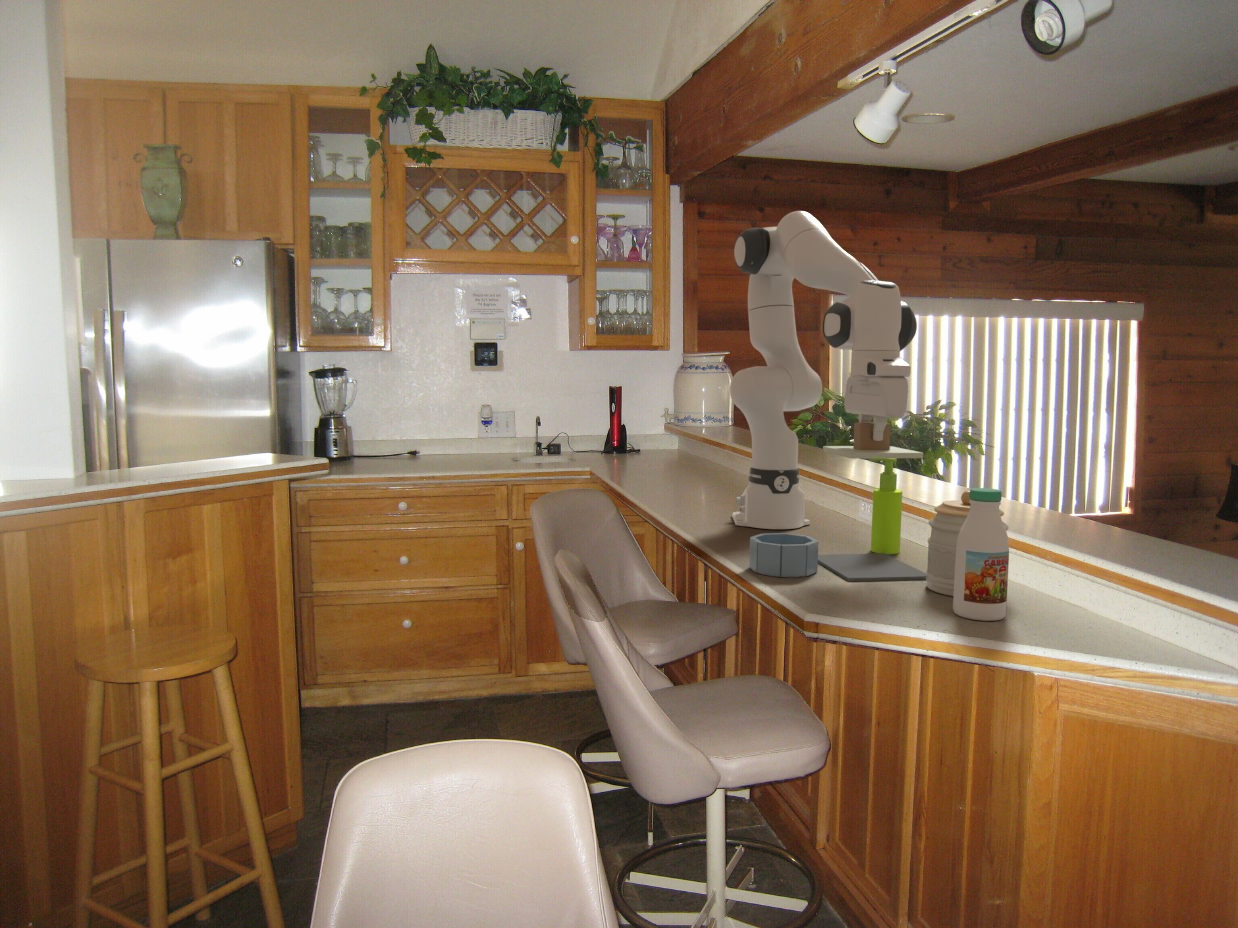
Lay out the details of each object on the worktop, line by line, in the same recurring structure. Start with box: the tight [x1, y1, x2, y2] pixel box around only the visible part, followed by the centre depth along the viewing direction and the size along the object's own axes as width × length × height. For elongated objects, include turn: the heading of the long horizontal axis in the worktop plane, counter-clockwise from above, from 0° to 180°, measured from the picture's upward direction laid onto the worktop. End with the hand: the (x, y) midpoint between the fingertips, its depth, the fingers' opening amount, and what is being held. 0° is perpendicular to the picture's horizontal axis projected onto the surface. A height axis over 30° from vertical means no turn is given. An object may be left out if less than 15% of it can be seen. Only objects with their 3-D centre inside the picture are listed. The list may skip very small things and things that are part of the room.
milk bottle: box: [952, 487, 1010, 622], centre depth 135 cm, size 8×8×20 cm
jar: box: [925, 490, 1009, 597], centre depth 151 cm, size 13×13×18 cm
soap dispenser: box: [869, 458, 903, 555], centre depth 183 cm, size 6×7×20 cm
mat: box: [818, 553, 926, 582], centre depth 168 cm, size 20×16×1 cm
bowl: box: [748, 532, 819, 578], centre depth 166 cm, size 12×12×6 cm
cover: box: [822, 422, 924, 460], centre depth 166 cm, size 14×14×6 cm
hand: (871, 439), depth 166 cm, fingers closed on cover, 3 cm apart
